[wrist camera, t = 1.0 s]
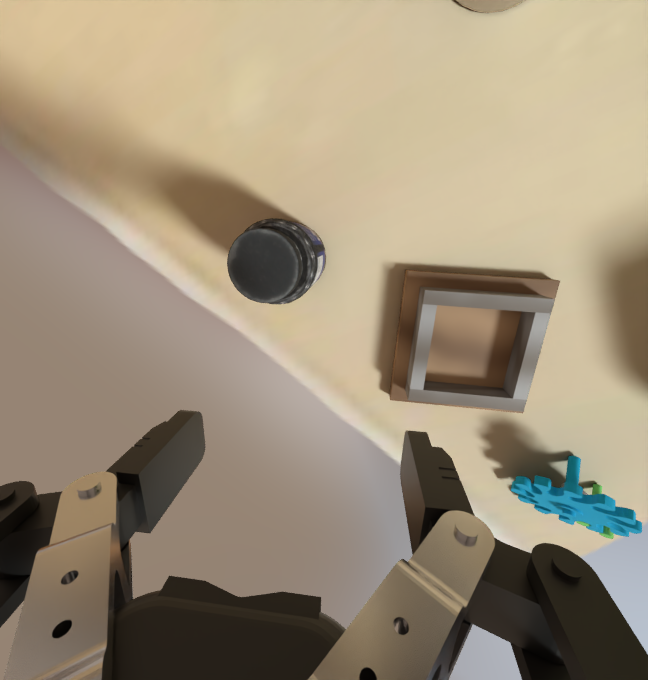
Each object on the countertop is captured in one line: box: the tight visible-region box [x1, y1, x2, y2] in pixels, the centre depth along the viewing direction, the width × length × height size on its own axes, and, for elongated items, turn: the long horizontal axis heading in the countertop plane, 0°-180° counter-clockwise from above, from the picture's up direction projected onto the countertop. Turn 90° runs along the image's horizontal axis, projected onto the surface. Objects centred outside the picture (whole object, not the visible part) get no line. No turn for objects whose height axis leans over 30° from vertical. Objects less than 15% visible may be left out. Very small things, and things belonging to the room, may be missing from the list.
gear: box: [511, 456, 642, 539], centre depth 32 cm, size 11×6×10 cm
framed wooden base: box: [389, 270, 560, 413], centre depth 30 cm, size 13×13×3 cm
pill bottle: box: [227, 219, 326, 304], centre depth 25 cm, size 6×6×11 cm
